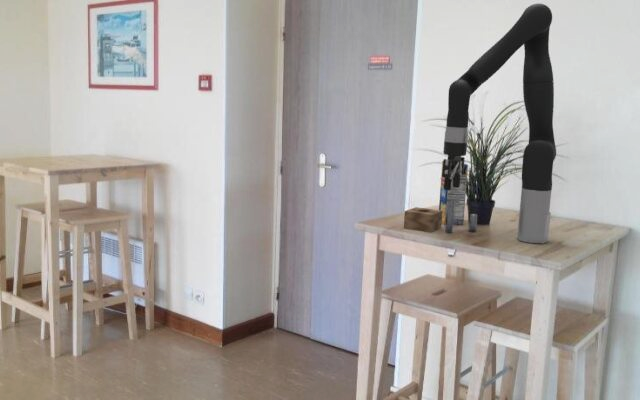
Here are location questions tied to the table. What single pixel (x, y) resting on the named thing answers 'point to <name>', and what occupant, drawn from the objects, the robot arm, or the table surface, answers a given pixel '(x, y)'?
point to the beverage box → (454, 198)
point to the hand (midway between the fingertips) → (451, 188)
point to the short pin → (473, 223)
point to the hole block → (423, 219)
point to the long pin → (449, 216)
